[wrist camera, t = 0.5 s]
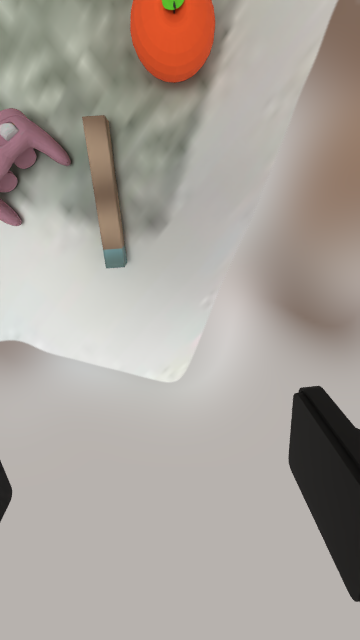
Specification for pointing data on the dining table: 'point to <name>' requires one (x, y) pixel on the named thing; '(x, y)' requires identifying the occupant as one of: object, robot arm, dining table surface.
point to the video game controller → (22, 153)
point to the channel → (105, 189)
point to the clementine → (172, 36)
